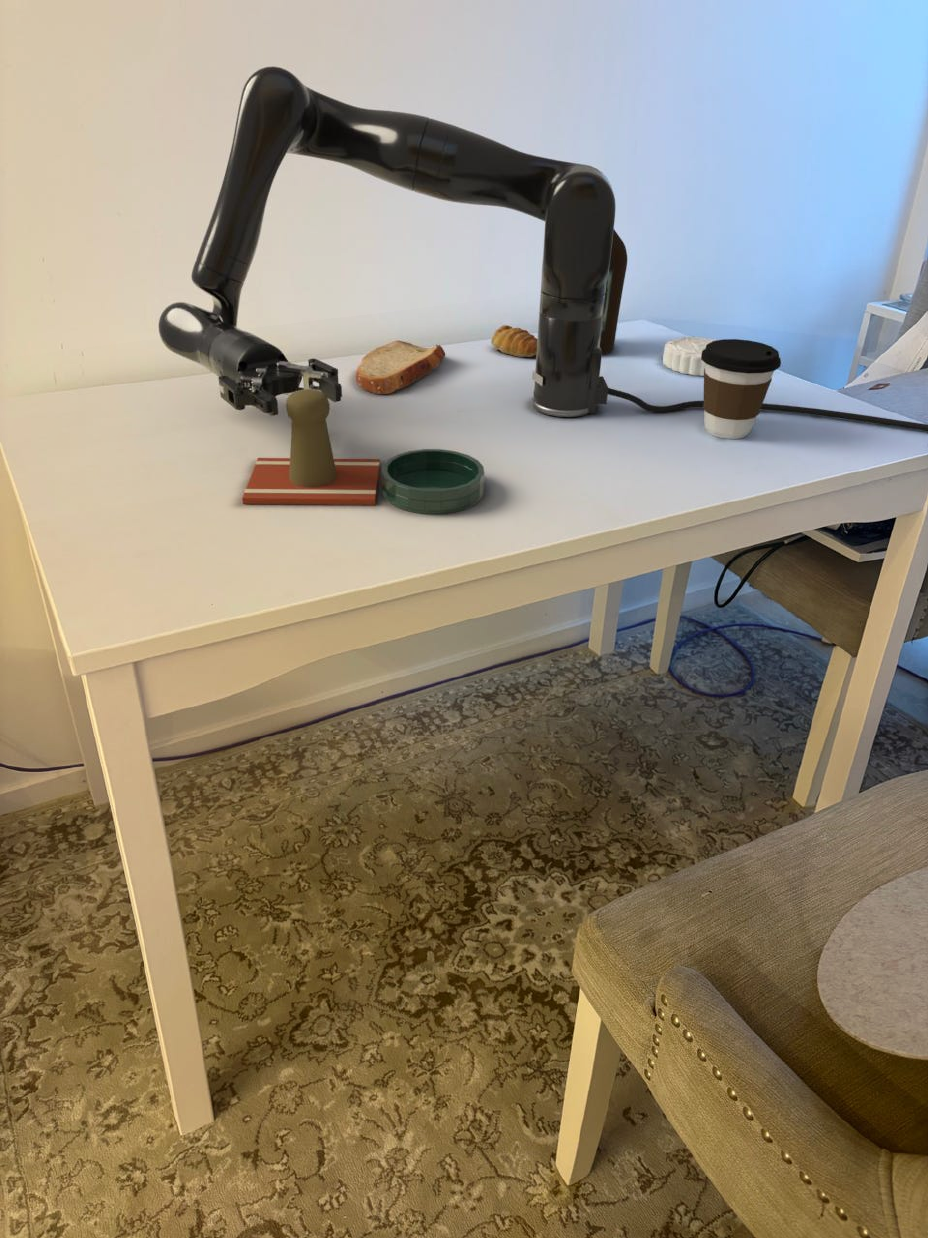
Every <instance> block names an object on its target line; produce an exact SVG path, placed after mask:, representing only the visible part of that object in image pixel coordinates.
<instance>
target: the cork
mask: <svg viewBox="0 0 928 1238" xmlns="http://www.w3.org/2000/svg"><path fill="white" fill-rule="evenodd" d="M330 405H331V404H330V402H329V399H328V398H327V397H326V395H325V394H324V393H322V392H320V391H317V390H311V389H306V390H298V391H295V392H294V393H292V394H289V395H288V397H287V399H286V403H285V410H286V413H287V417H288V418H289V419H290V420H291V429H290V431H291V432H290V449H289V450H290V451H289V458H290V468H289V480H290V481H291V482H292V483H293V484H295V485H297V486H302V487H321V486H325V485H328V484H331V483H333V482H334V481H335V480H336V479H337V473H336V468H335V463H334V459H335V457H334V453H333V448H332V443H331V438H330V433H329V428H328V423H327V418H328V416H329V414H330V410H331V407H330Z"/></svg>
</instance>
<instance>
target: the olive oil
mask: <svg viewBox="0 0 928 1238" xmlns="http://www.w3.org/2000/svg"><path fill="white" fill-rule="evenodd" d="M627 266H628V251H627V248H626V244H625V243H624V241H623V239H622V238H621V236H620V235H619V234H618V232H617V231H616V230H615V229H614V231H613V240H612V248H611V256H610V266H609V273H608V277H607V283H606V291H605V299H604V309H603V318H602V328H601V338H600V348H601V350H602V356H603V355H608V354H610V353H612V352H613V351H614V349H615V342H616V337H617V335H616V334H617V328H618V322H619V315H620V308H621V302H622V297H623V292H624V291H623V290H624V285H625V279H626V274H627V273H626V272H627V268H628V267H627Z"/></svg>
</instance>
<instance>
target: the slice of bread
mask: <svg viewBox="0 0 928 1238" xmlns="http://www.w3.org/2000/svg"><path fill="white" fill-rule="evenodd" d="M445 357H446V352H445V350H444V348H443V347H442V346H441V344H435V346H433V347H423V346H418V345H415V344H412V343H411V342H408V341H407V342H406V341H403V340H394V341H391V342H389V343H386V344H385V345H381V346H378V347H376V348H375V349H373V350H371V351H370V352H369V353H367V354H365V356H363V358H362V359H361V363H360V365H359V366H357V368H356V374H355V382H356V383H357V385H358V386H359V388H361V389H362V390H364V391H365V392H369V393H372V394H377V395H389V394H393V393H394V392H396V391H399V390H401V389H405V388H407V387H408V386H410V385H412V384H413V383H415V382H417V381H419V380H420V379H422V378H424V377H425V376H426V375H428V374H429V373H431V372H432V371H434V370H435V369H436V368H437V367H438V366H439V365H440V363H441V362H442V360H444V358H445Z"/></svg>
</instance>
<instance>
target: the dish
mask: <svg viewBox="0 0 928 1238" xmlns="http://www.w3.org/2000/svg"><path fill="white" fill-rule="evenodd" d="M381 489H382V490H381V491H382V496H383V497H384V499H385V500H386V501H387V502H388V503H389V504H390V505H392V506H393V507H395V508H398V509H401V510H403V511H406V512H410V513H415V514H416V513H417V514H425V515H443V514H451V513H452V514H453V513H457V512H461V511H464V510H467V509H469V508H471V507H474V506H475V505H476V504H478V503H479V502H480V501H481V499H482V498H483V495H484V489H485V468H484V465H483V464H482V463H481V462H480V461H479V460H478V459H476V458H475V457H472V456H471V455H469V454H466V453H462V452H459V451H455V450H449V449H443V448H442V449H440V448H422V449H415V450H414V449H413V450H407V451H404V452H401V453H398V454H395V455H394V456H392V457H390V458H388V459H387V460H386V461H385V462H384V463H383V464H382V466H381Z"/></svg>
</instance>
